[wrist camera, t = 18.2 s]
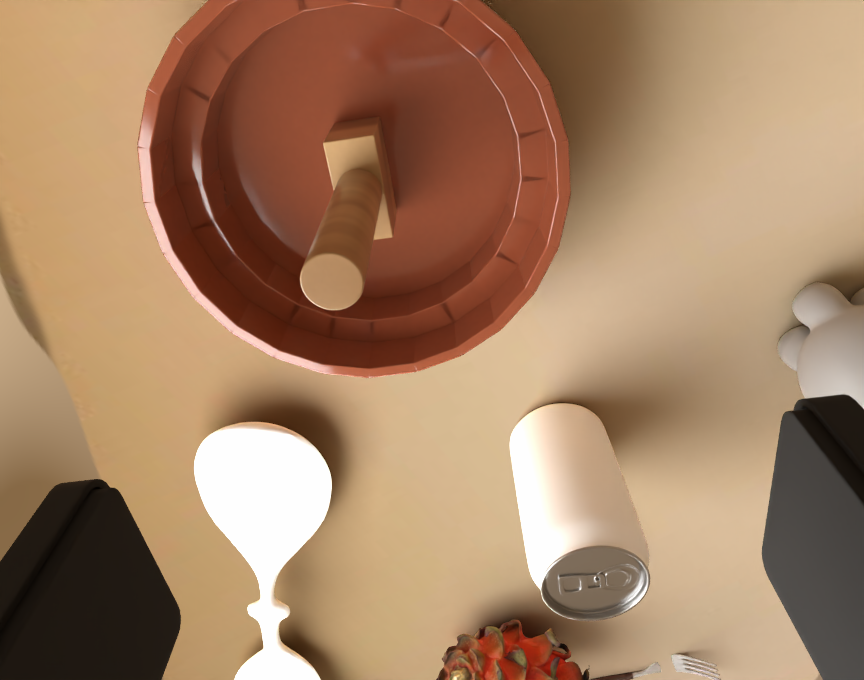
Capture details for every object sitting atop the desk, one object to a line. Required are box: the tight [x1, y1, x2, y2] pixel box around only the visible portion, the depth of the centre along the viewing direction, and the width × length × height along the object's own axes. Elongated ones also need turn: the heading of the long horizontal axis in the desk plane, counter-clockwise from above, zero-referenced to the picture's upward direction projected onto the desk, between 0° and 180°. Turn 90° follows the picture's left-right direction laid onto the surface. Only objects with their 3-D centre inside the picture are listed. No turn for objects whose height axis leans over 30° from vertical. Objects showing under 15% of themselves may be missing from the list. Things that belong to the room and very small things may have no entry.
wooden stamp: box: [300, 116, 397, 310], centre depth 29 cm, size 5×2×14 cm, turn 8°
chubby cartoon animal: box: [777, 282, 864, 409], centre depth 38 cm, size 7×12×8 cm, turn 174°
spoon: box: [194, 422, 332, 680], centre depth 49 cm, size 9×32×4 cm, turn 176°
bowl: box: [137, 0, 571, 378], centre depth 33 cm, size 19×19×6 cm
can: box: [510, 403, 650, 621], centre depth 39 cm, size 6×6×12 cm
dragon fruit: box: [436, 619, 590, 680], centre depth 52 cm, size 8×8×12 cm
